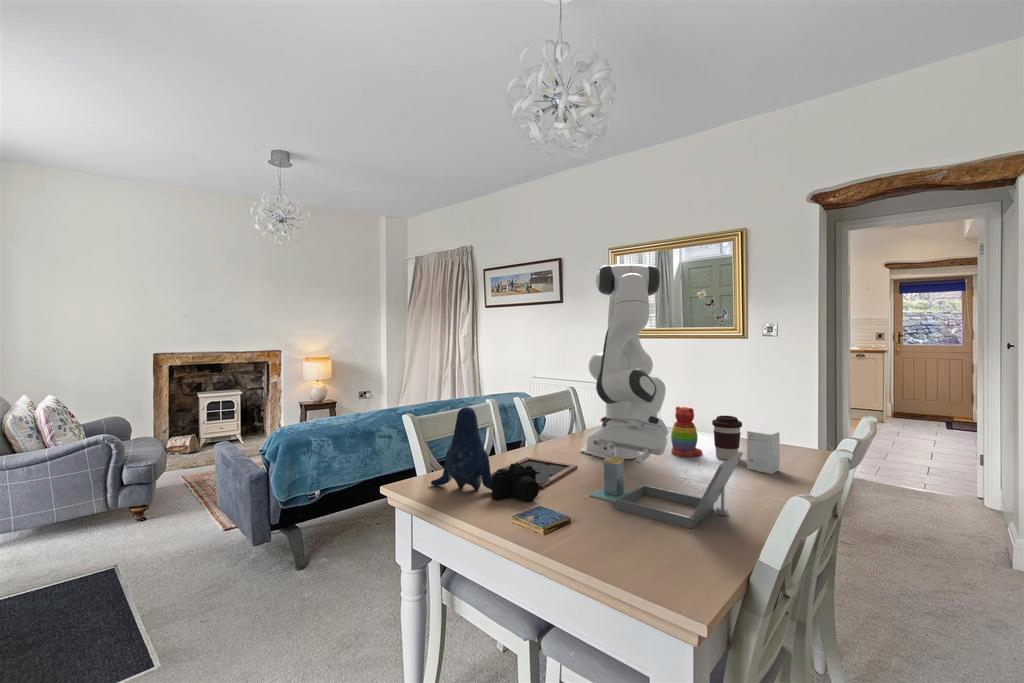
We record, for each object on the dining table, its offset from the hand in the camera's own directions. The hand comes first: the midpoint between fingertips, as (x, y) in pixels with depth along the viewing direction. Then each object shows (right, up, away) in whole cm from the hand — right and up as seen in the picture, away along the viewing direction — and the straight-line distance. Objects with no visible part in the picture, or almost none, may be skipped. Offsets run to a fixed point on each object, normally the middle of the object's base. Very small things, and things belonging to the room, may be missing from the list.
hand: (623, 460), depth 145 cm
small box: (+50, -8, +17) cm, 54 cm away
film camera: (-31, -9, -7) cm, 33 cm away
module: (-4, -8, -6) cm, 11 cm away
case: (+10, -9, -19) cm, 23 cm away
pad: (-4, -9, -6) cm, 11 cm away
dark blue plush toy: (-47, -9, -1) cm, 47 cm away
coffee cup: (+45, -7, +32) cm, 56 cm away
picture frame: (-26, -9, +15) cm, 32 cm away
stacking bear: (+32, -7, +38) cm, 50 cm away
